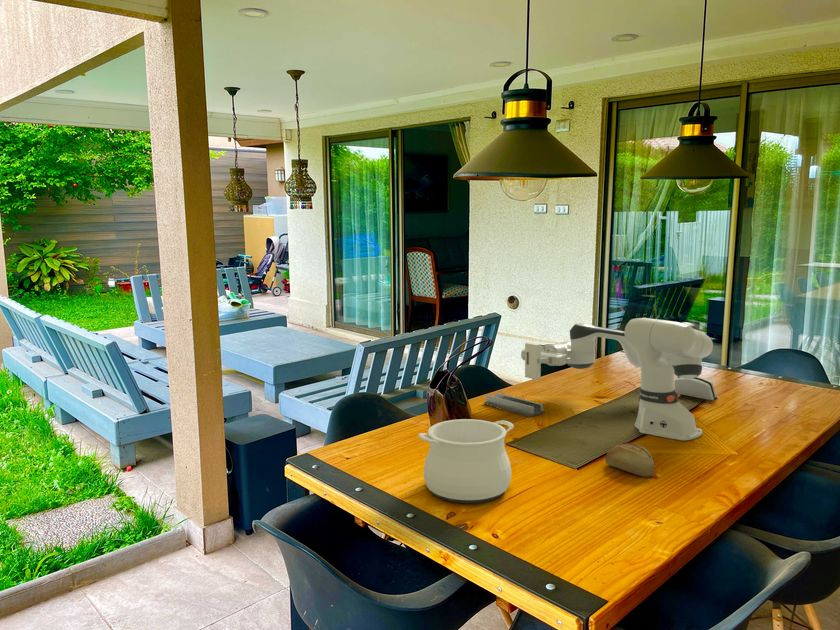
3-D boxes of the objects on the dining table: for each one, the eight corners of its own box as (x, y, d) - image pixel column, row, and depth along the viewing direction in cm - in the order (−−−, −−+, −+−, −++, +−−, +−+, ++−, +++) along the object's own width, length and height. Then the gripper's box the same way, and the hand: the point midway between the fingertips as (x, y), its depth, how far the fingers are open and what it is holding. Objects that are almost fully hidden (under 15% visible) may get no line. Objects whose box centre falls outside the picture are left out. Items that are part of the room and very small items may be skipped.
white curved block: (718, 398, 267) (715, 377, 264) (713, 404, 265) (710, 383, 261) (679, 390, 280) (676, 370, 276) (674, 396, 277) (671, 376, 274)
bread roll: (614, 460, 201) (615, 435, 200) (661, 472, 190) (662, 446, 189) (598, 468, 194) (599, 443, 193) (646, 482, 184) (647, 455, 182)
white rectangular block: (540, 378, 258) (540, 344, 256) (535, 379, 257) (536, 345, 254) (529, 376, 263) (529, 342, 261) (524, 377, 261) (524, 343, 259)
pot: (440, 516, 164) (439, 450, 162) (404, 482, 187) (402, 423, 184) (534, 496, 175) (535, 434, 173) (489, 466, 198) (489, 410, 195)
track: (544, 412, 252) (544, 403, 251) (529, 417, 246) (529, 408, 245) (498, 400, 270) (498, 392, 269) (484, 404, 264) (484, 396, 263)
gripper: (573, 366, 259) (551, 371, 251) (534, 358, 275) (512, 363, 266) (574, 350, 258) (552, 355, 250) (534, 344, 274) (512, 348, 265)
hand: (531, 359), depth 258 cm, fingers closed on white rectangular block, 6 cm apart
